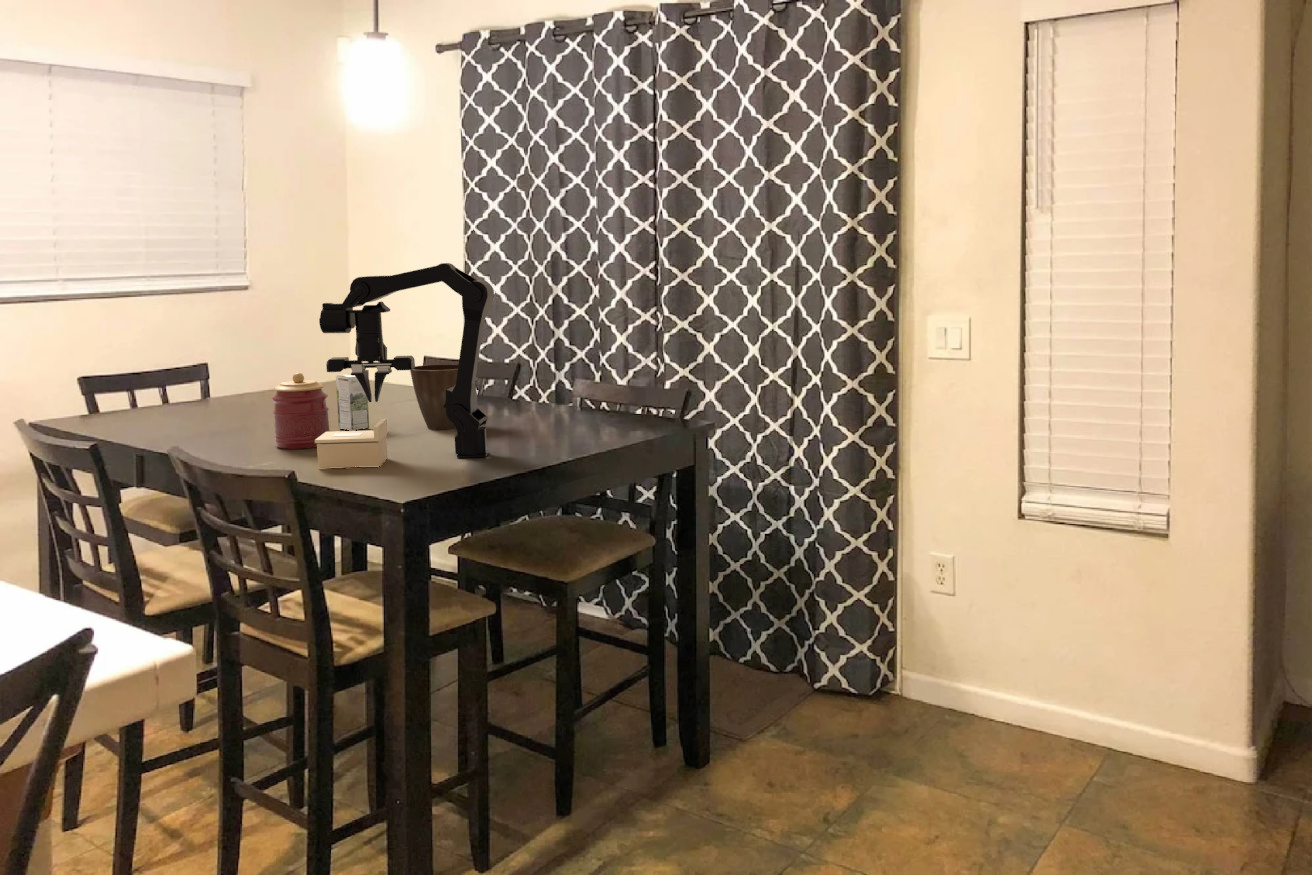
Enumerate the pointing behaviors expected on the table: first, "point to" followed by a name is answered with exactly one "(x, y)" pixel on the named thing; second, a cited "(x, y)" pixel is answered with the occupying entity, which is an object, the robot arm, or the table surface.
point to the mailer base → (352, 454)
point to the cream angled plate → (355, 435)
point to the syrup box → (351, 403)
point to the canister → (299, 413)
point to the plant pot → (434, 392)
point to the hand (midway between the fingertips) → (373, 401)
